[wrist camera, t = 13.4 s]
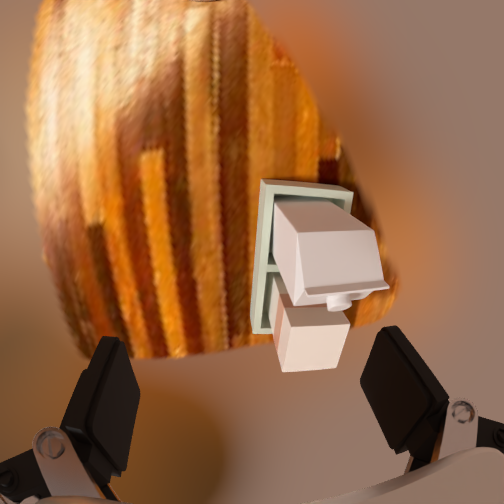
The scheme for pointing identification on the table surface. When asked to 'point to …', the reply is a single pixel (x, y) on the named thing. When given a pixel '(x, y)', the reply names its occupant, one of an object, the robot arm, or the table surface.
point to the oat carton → (304, 330)
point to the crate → (263, 253)
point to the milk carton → (323, 252)
